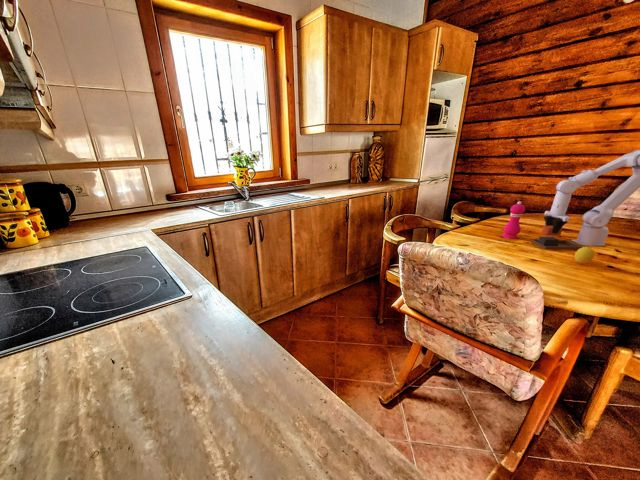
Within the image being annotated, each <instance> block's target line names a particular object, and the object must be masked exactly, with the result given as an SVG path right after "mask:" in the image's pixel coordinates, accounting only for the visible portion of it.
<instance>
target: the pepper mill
mask: <svg viewBox="0 0 640 480" xmlns="http://www.w3.org/2000/svg"><path fill="white" fill-rule="evenodd" d="M509 211H510V215H509V216H510V218H509V221H508V222H507V223H506V224H505V226H504V227H503V230H502V231H503V235H502V238H504V239H507V240H517V239H518V237H519V236H518V234H520V233H521V225H520V220H521V218H522V217H523V214H524V212H525V211H526V207H525V205H524V204H523V203H522V201H521V200H519V201H517V202H516V204H513V205H512V206H511V207H510V210H509Z"/></svg>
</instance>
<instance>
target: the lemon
mask: <svg viewBox="0 0 640 480" xmlns="http://www.w3.org/2000/svg"><path fill="white" fill-rule="evenodd" d="M594 258H595V251H594V249H592V248H591V247H590V246H582V248H580V249H578V250H576V251H575V253H574V258H573V259H574V261H575V262H576V263H578V264H579V265H581V266H582V265H586V264H589V263H591V262H592V261H593V260H594Z"/></svg>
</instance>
